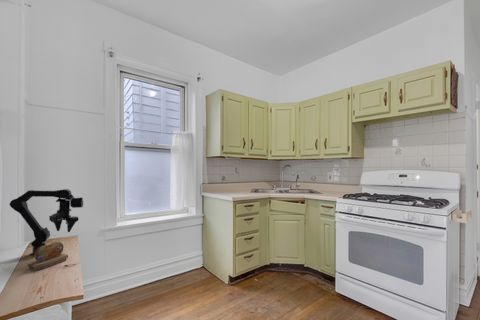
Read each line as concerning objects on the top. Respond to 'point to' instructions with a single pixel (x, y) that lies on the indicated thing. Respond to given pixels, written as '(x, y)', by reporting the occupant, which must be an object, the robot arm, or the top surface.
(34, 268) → the stand
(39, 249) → the tin
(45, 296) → the top surface
